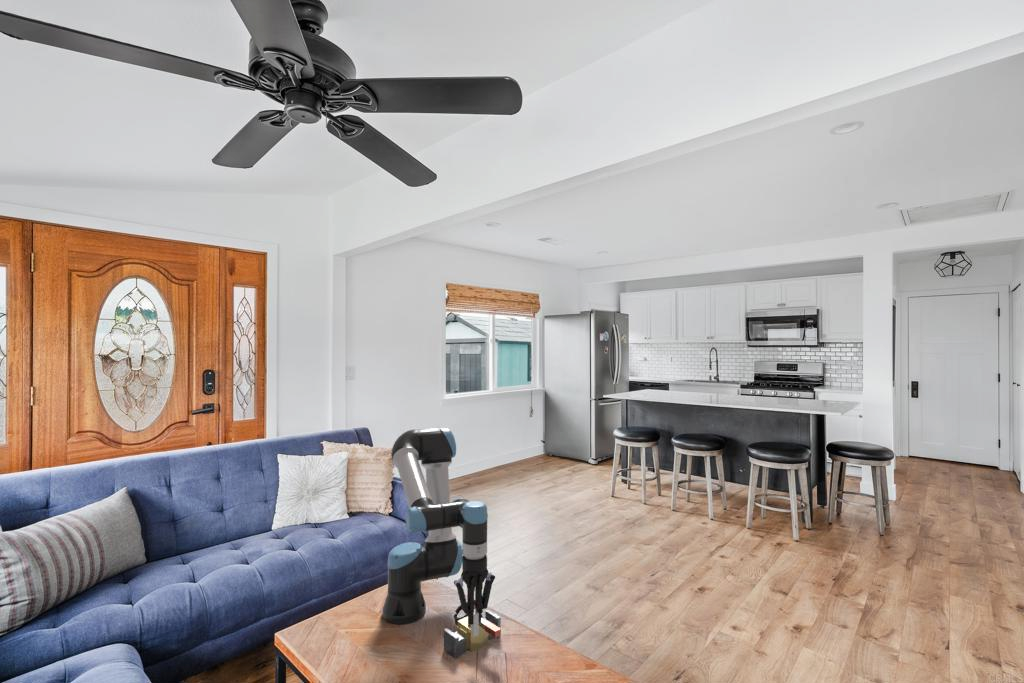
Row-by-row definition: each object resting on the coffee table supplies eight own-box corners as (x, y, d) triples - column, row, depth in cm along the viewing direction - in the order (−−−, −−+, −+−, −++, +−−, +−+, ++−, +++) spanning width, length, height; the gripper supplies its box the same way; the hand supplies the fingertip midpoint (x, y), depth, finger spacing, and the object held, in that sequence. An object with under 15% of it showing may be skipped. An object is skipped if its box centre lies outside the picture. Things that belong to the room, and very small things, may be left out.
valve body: (443, 649, 156) (443, 627, 156) (487, 628, 168) (487, 607, 168) (456, 660, 150) (456, 636, 150) (501, 637, 162) (501, 615, 163)
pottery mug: (484, 634, 165) (472, 615, 164) (460, 644, 167) (448, 625, 165) (488, 606, 177) (477, 589, 175) (465, 616, 178) (454, 598, 177)
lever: (465, 620, 159) (465, 612, 159) (473, 616, 161) (473, 609, 161) (494, 639, 149) (494, 631, 149) (502, 635, 151) (502, 627, 151)
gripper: (459, 563, 144) (458, 645, 143) (499, 555, 150) (499, 634, 149) (450, 554, 151) (449, 632, 150) (489, 546, 156) (489, 622, 156)
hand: (474, 633), depth 150 cm, fingers closed
